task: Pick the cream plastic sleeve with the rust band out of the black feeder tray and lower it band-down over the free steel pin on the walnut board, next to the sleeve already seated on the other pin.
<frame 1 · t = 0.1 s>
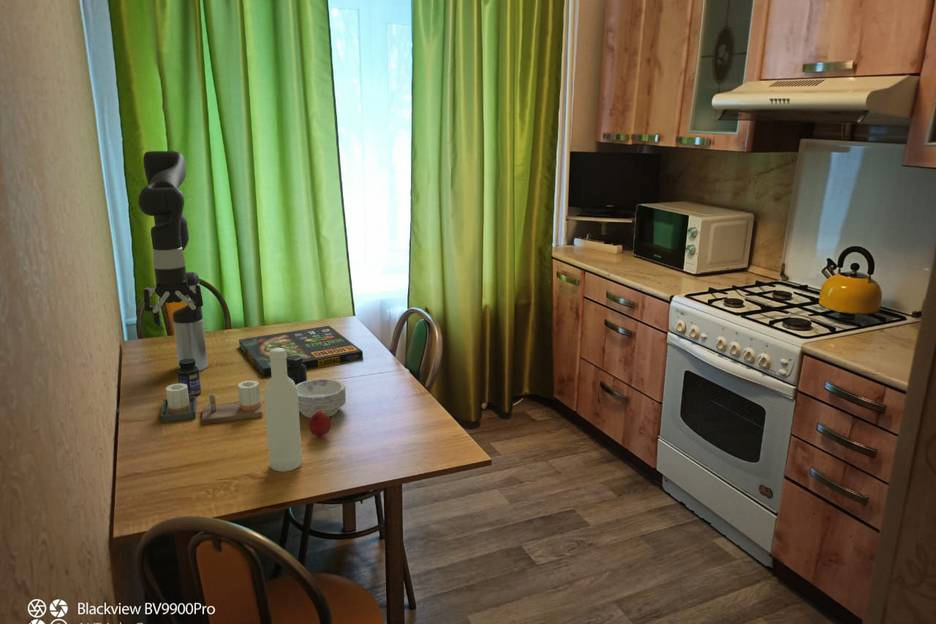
hand: (176, 323, 178), 29 cm above the table, tool pointing down, fingers open, 8 cm apart
bottle: (286, 464, 164), on the table
onion: (320, 437, 178), on the table
paper bowls: (319, 412, 193), on the table
seated sleeve: (250, 406, 193), point 1 cm above the table, touching pin board
sleeve: (179, 409, 192), point 1 cm above the table, touching feeder tray
supplement bottle: (296, 394, 206), on the table
feeder tray: (179, 412, 192), on the table
pill bottle: (190, 394, 205), on the table
pin board: (232, 413, 191), on the table
pizza box: (299, 354, 242), on the table
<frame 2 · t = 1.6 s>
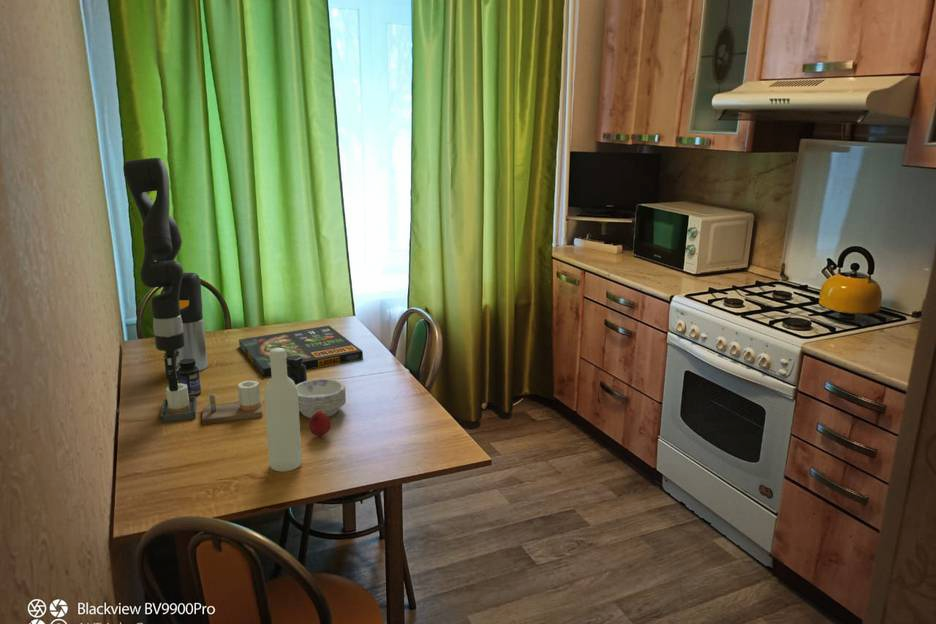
hand: (175, 385, 189), 9 cm above the table, tool pointing down, fingers open, 8 cm apart
nothing on the table moved.
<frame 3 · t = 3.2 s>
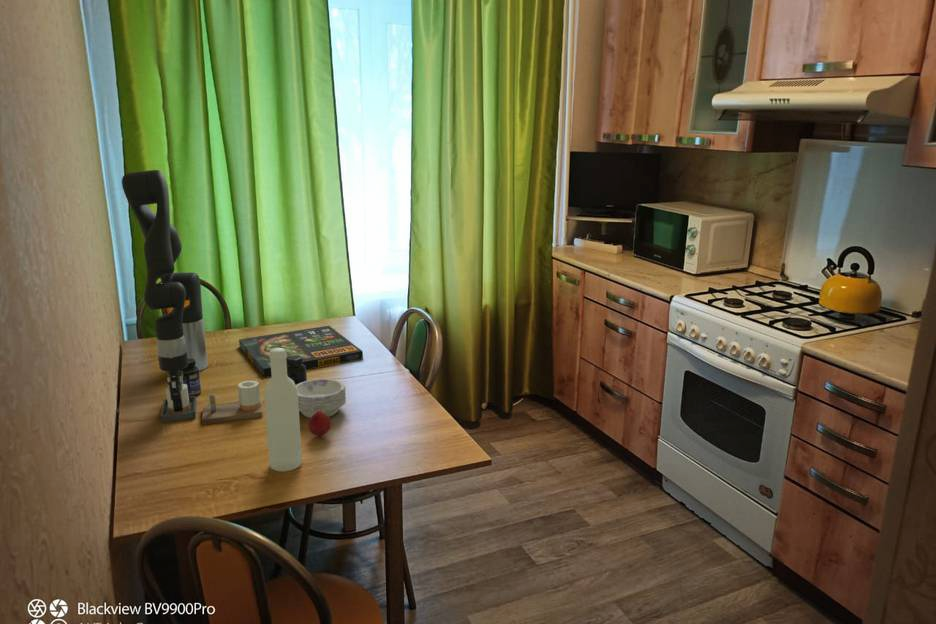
hand: (179, 406, 192), 2 cm above the table, tool pointing down, fingers closed on sleeve, 5 cm apart
sleeve: (179, 409, 192), point 1 cm above the table, touching feeder tray, gripper
everything else where it was.
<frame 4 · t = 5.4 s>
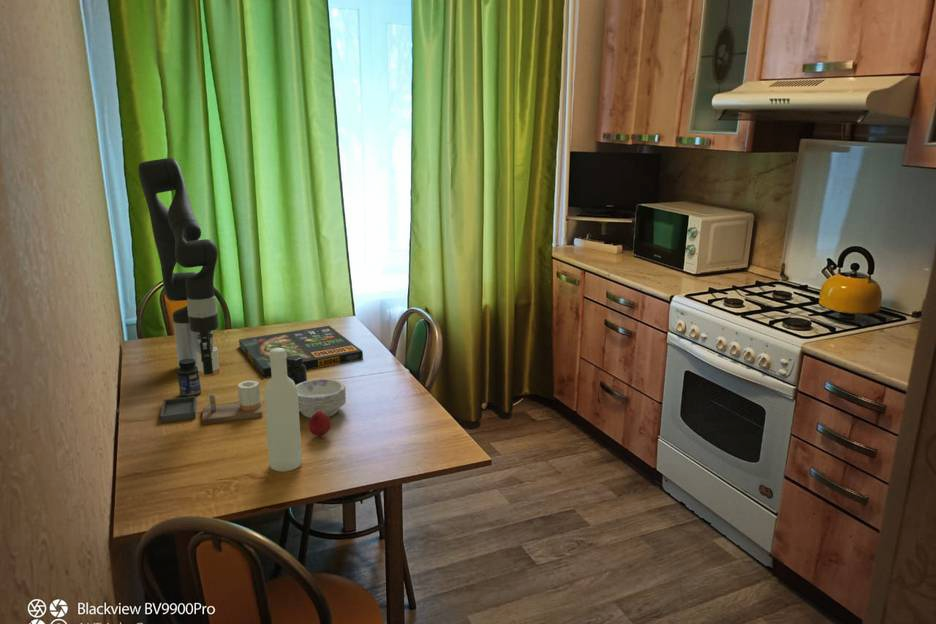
hand: (208, 369, 186), 14 cm above the table, tool pointing down, fingers closed on sleeve, 5 cm apart
sleeve: (209, 373, 186), point 13 cm above the table, touching gripper
everything else where it was.
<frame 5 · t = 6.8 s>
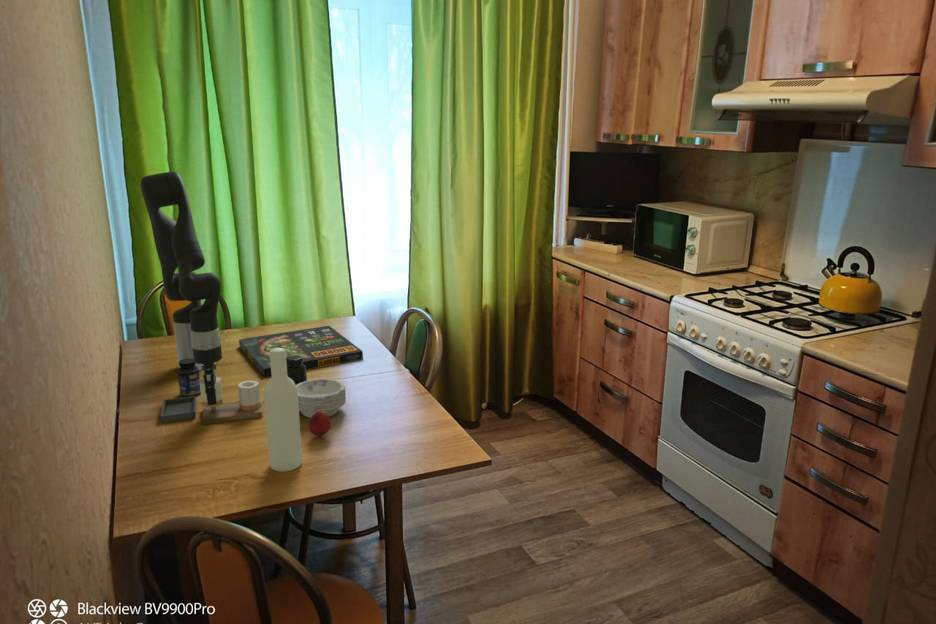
hand: (212, 400, 188), 5 cm above the table, tool pointing down, fingers closed on sleeve, 5 cm apart
sleeve: (212, 403, 189), point 4 cm above the table, touching gripper
everything else where it was.
when the fingers open (5 cm above the table, at t = 7.7 s): sleeve drops 2 cm, resting on pin board.
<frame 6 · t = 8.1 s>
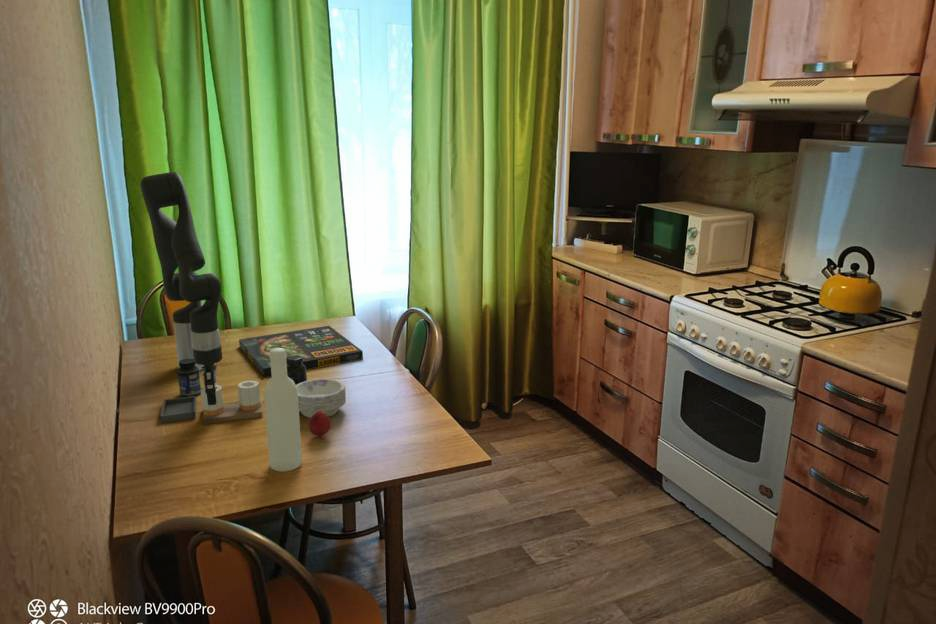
hand: (212, 398, 188), 5 cm above the table, tool pointing down, fingers open, 8 cm apart
sleeve: (213, 411, 189), point 1 cm above the table, touching pin board
everything else where it was.
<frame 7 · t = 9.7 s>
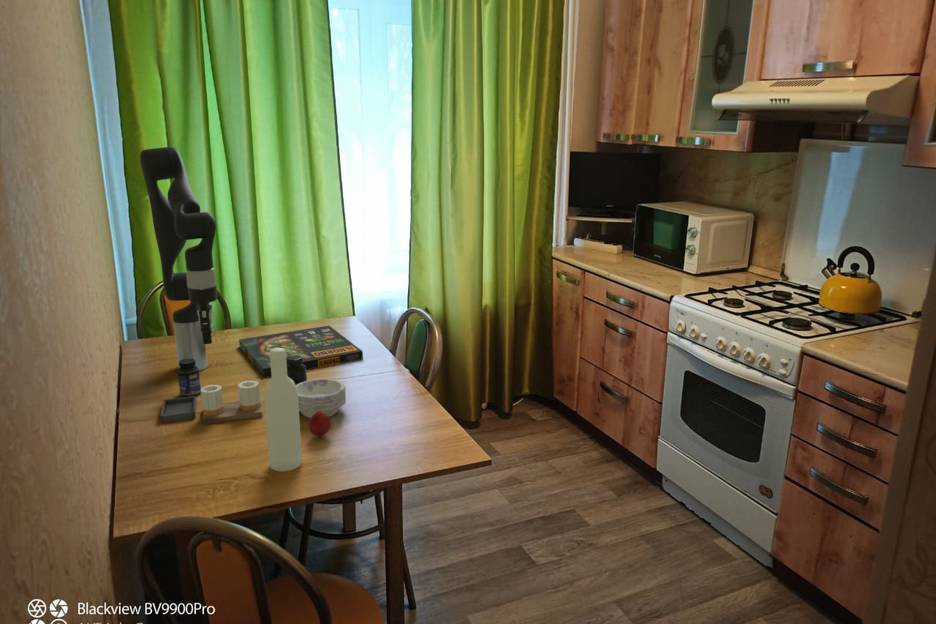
hand: (207, 338, 190), 21 cm above the table, tool pointing down, fingers open, 8 cm apart
nothing on the table moved.
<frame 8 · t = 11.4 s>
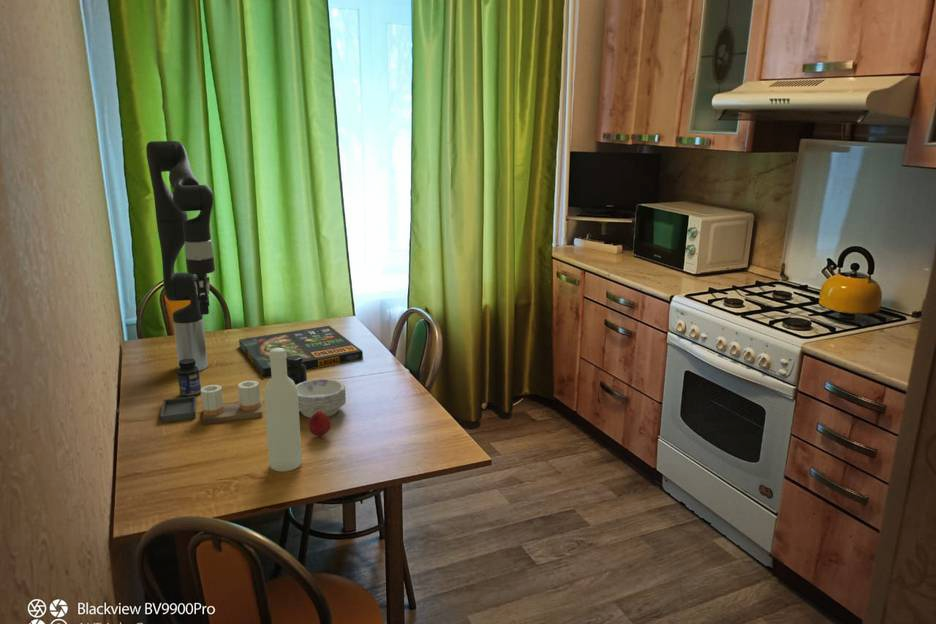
hand: (205, 310, 194), 28 cm above the table, tool pointing down, fingers open, 8 cm apart
nothing on the table moved.
at the end: sleeve 0.1 cm from the target spot on the pin board, point 1.5 cm above the pin board's base; sleeve tilted 0°; the gripper is holding nothing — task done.
